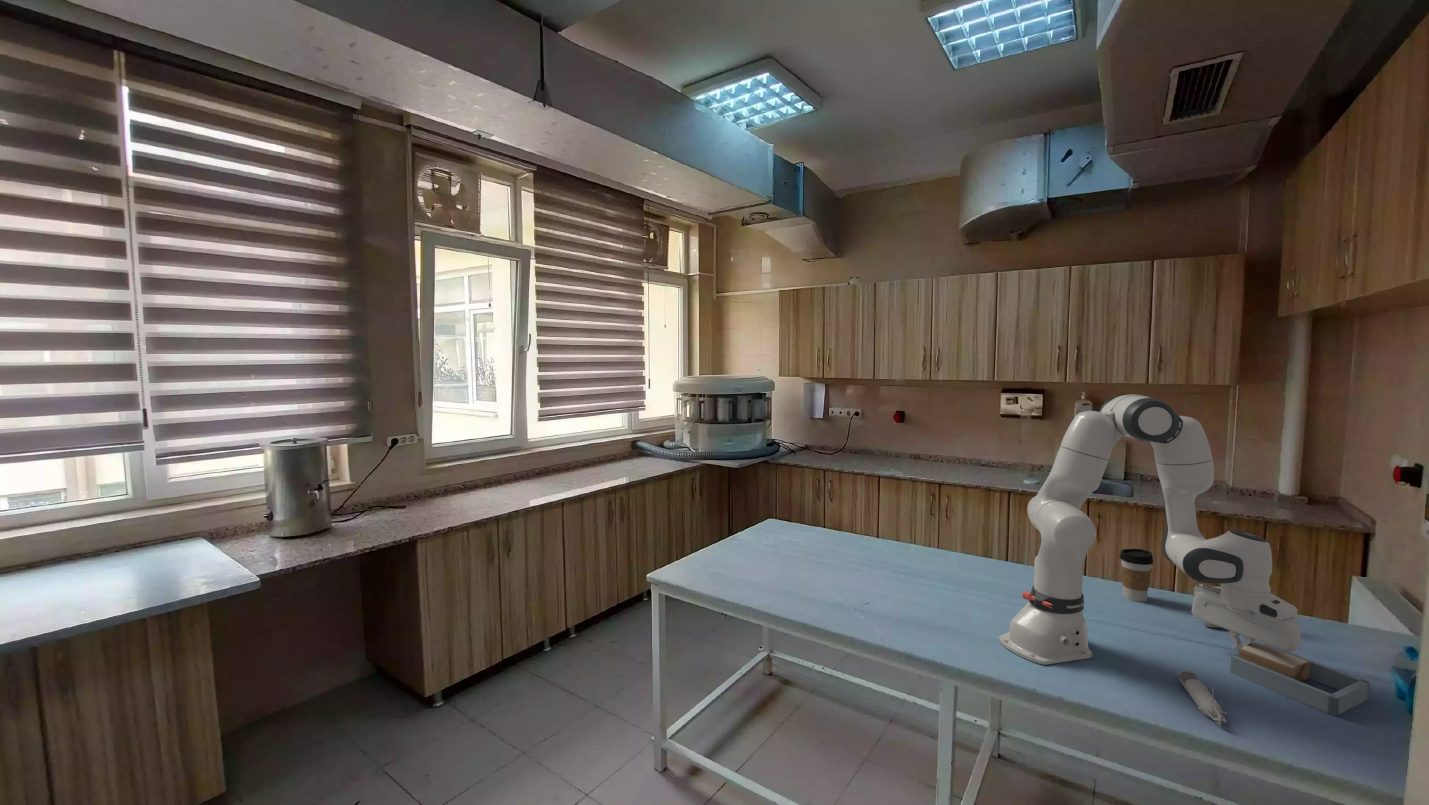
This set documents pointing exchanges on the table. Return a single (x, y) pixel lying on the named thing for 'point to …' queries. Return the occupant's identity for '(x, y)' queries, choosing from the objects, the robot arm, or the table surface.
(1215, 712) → the torpedo
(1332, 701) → the bay
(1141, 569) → the coffee cup
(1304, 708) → the table surface
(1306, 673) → the tan block
